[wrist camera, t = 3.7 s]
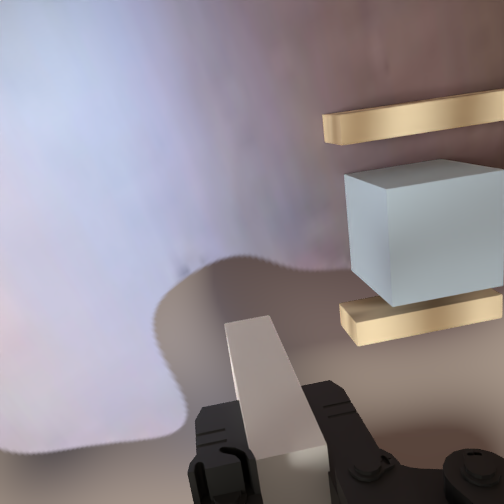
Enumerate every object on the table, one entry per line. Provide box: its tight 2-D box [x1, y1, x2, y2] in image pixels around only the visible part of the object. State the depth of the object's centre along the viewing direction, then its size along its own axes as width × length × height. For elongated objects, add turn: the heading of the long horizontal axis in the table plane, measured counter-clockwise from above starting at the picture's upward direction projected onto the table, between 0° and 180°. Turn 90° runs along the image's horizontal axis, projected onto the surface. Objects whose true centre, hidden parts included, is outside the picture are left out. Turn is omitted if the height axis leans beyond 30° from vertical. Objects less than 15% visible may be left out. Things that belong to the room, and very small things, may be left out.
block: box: [344, 159, 504, 307], centre depth 26 cm, size 6×6×6 cm
